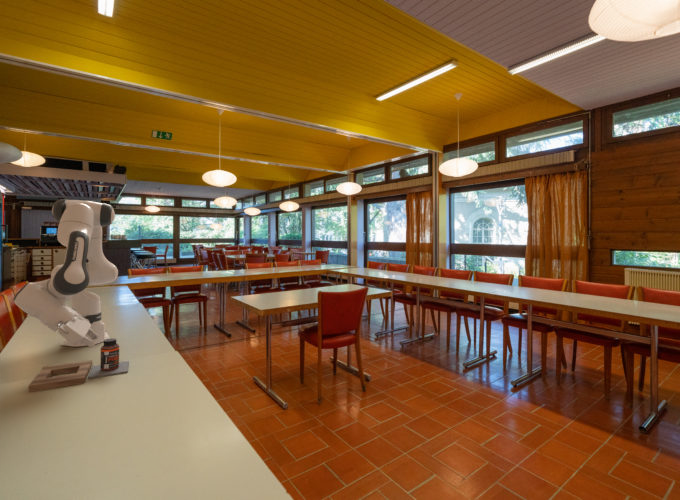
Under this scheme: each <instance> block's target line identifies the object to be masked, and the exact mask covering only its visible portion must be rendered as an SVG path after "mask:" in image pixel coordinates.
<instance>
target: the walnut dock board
mask: <svg viewBox="0 0 680 500" xmlns="http://www.w3.org/2000/svg"><path fill="white" fill-rule="evenodd" d="M92 367H93V359H92V360H82V361H78V362H77V361H76V362H69V363H63V364H62V363H61V364H55V365H49V366H48V365H46V366H43V367H42V368H41V369H40V370H39V372H38V373H37V375H36V376H35V377H34V378H33V380H32V381H31V382H30V383H29V385H28V392H29V393H31V392H35V391H42V390H43V391H44V390H49V389H54V388H55V389H56V388H59V387H60V388H61V387H66V386H73V385H79V384H85V383H86V381H87V379H88V377H89V375H90V372H91V370H92ZM68 373H69V374H68ZM70 373H72V374H70ZM61 374H64V375H61ZM55 375H57V376H55ZM51 376H52V377H51Z"/></svg>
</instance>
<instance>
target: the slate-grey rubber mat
mask: <svg viewBox="0 0 680 500" xmlns="http://www.w3.org/2000/svg"><path fill="white" fill-rule="evenodd" d="M100 366H101V365H99V364H97V365H92V367H91V369H90V372H89V374H88V377H87V379H88V380H89V379H90V380H91V379H95V378H96V379H97V378H101V377H102V378H103V377H109V376H115V375H120V374H127V373H129V366H130V360H126V361H119V367H118V368H116V369H114V370H110V371H102V370H101V367H100Z"/></svg>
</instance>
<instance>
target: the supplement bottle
mask: <svg viewBox="0 0 680 500" xmlns="http://www.w3.org/2000/svg"><path fill="white" fill-rule="evenodd" d="M119 362H120V344H119V343H117V339H116V338H110V339H106V340H104V341H103V345H102V346H101V347H100V363H99V364H100V365H101V366H100V367H101V370H102V371H110V370H114V369H116V368H118V367H119Z"/></svg>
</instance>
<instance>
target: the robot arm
mask: <svg viewBox="0 0 680 500" xmlns="http://www.w3.org/2000/svg"><path fill="white" fill-rule="evenodd" d="M51 213H52V216H53V218H54V220H55V221H57V222H59V223H58V227H57V232H56V233H57V237H56V238H57V239H56V240H57V241H58V242H59V243H60V244H61V245H62V246H64V247H66V251H65V256H64V262H63V264H57V265H56V266H55V267H54V268H52V270H51V272H50V273H51V274H50V278H48V279H44V280H41V281H34V282H30V281H29V282H27V283H26V284H24V285H23V286H22V287H21V288H20V289H19V290H18V291H17V293H15V295H14V296H13V299H12V300H13V303H14V304H15V305H16V306H17V307H18V308H19V309H21V310H22V312H24V313H26V314H27V315H29V316H30V317H32V318H36V319H37V320H39V321H40V323H41V324H43V326H45V327H47V328H48V329H50V330H52V332H57V333H58V334H59V335H60V336H61V337H63V338H64V339H65V340H64V341H63V342H61V346H68V347H85V346H86V347H87V346H88V347H89V348H93V347H94V346H95V345H97V344H100V343H104V340H106V339H111V337H110V335H109V334H108V332H107V330H106V324H105V323H104V322H103V321H102V317H103V315H102V311H101V297H100V295H98V294H97V293H94V292H92V291H88V290H87V289H86V288H88V286H96V285H97V286H98V285H105V284H111V283H114V282H115V281H116V280H117V278H118V276H119V269H118V268H117V266H116V265H115V264H114V263H112V262H111V261H109V260H108V259H107V258H106V256H105V254H104V251H103V228H105V227H108V226H111V225H112V224H113V222H114V221H115V218H116V213H115V210H114V207H113V206H112V205H111V204H109V203H108V204H107V203H105V202H103V203H102V202H98V201H97V202H96V201H91V200H79V199H68V198H67V199H66V198H63V199H61V198H60V199H58V200H56V201H54V204H53V206H52V209H51ZM87 260H88V262H87ZM69 300H70V303H71V305H70V306H69V305H68V304H66V303H65V302H66V301H69Z"/></svg>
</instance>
